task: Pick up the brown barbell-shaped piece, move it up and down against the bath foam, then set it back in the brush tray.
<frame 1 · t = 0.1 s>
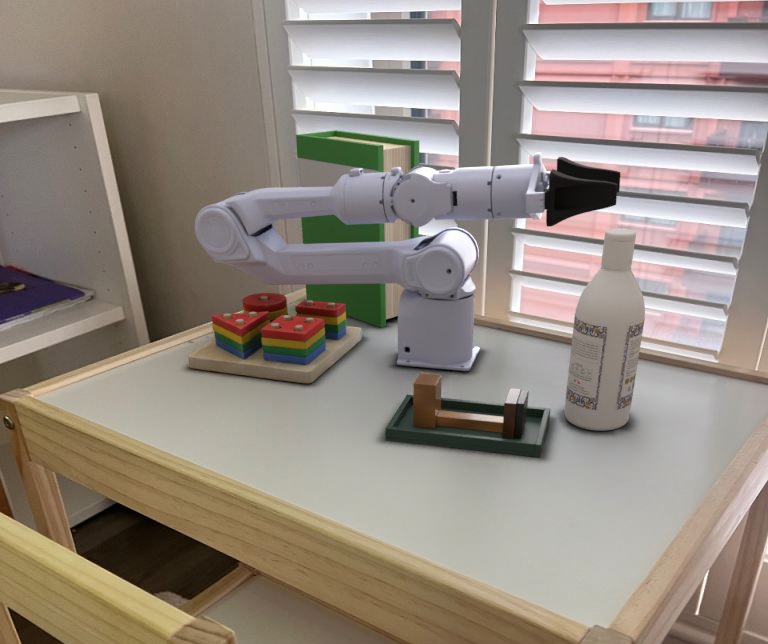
hand: (618, 187, 88), 22 cm above the table, tool horizontal, fingers open, 7 cm apart
bath foam: (595, 420, 88), on the table
shape sorter: (278, 354, 107), on the table
hardback book: (360, 309, 123), on the table
brush tray: (469, 429, 87), on the table
brown barbell-shaped piece: (427, 421, 87), resting on brush tray
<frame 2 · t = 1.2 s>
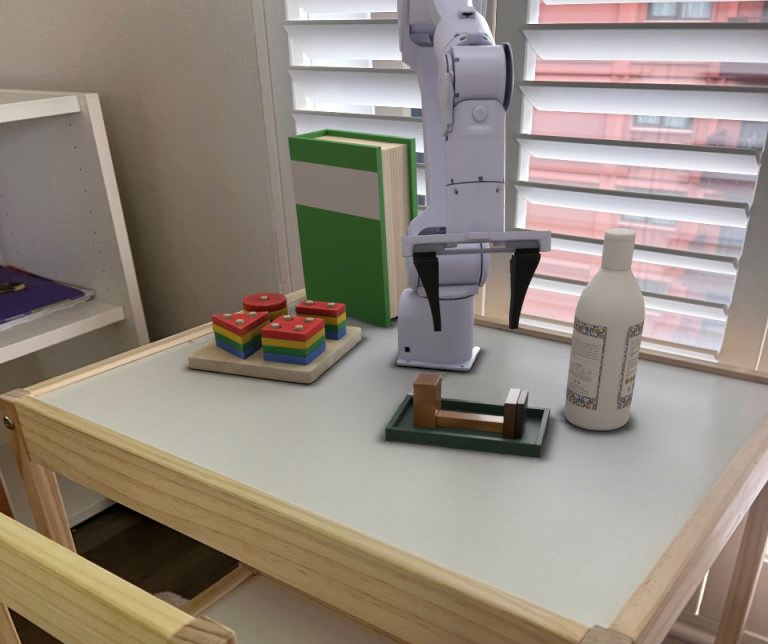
hand: (475, 329, 81), 11 cm above the table, tool tilted 15°, fingers open, 7 cm apart
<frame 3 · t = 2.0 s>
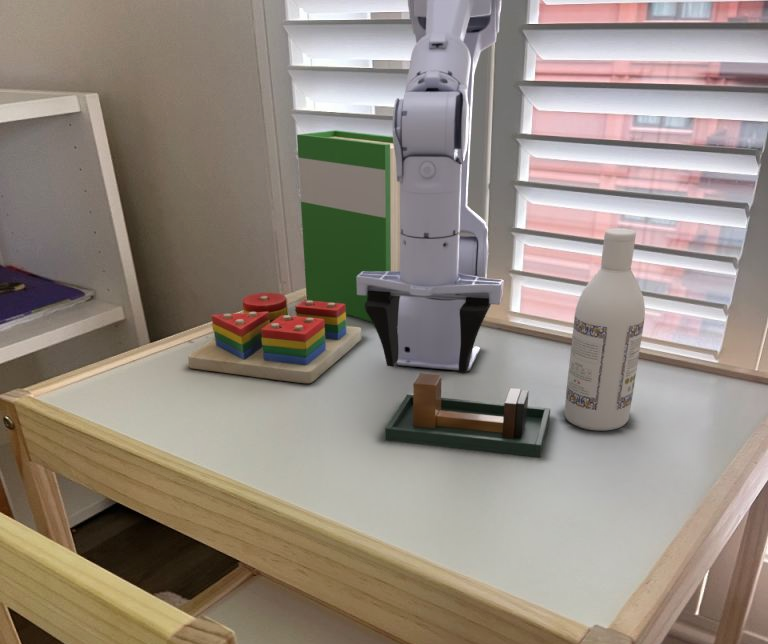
hand: (427, 366, 84), 7 cm above the table, tool pointing down, fingers open, 7 cm apart
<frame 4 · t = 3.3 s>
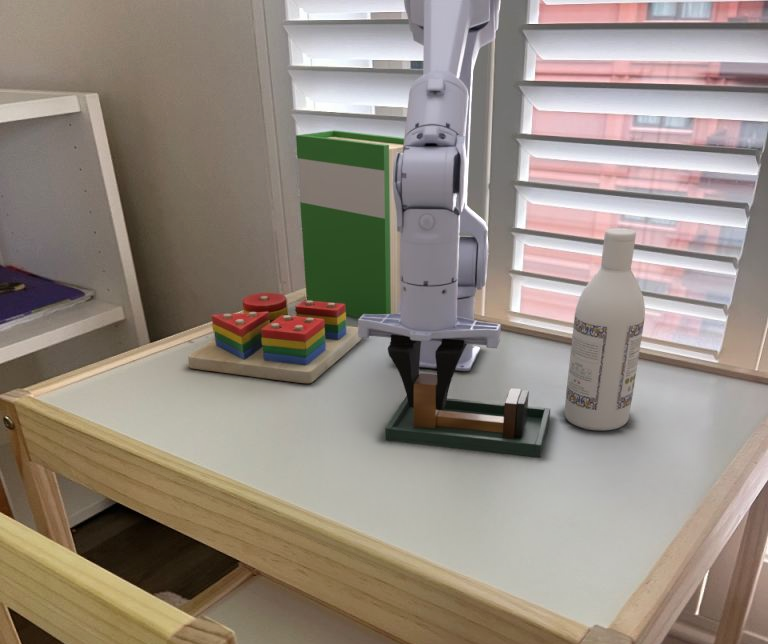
hand: (427, 405, 86), 2 cm above the table, tool pointing down, fingers closed on brown barbell-shaped piece, 2 cm apart
brown barbell-shaped piece: (427, 422, 87), resting on brush tray, touching gripper
everything else where it was.
when the fingers open (2 cm above the table, at t = 11.8 s): brown barbell-shaped piece stays where it is, resting on brush tray.
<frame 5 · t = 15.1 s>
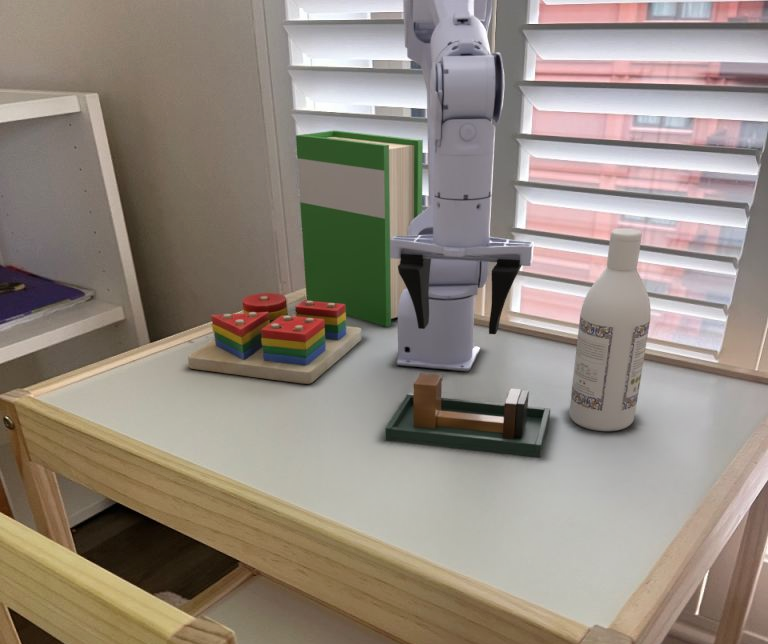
hand: (458, 328, 86), 9 cm above the table, tool pointing down, fingers open, 7 cm apart
brown barbell-shaped piece: (427, 422, 87), resting on brush tray
everything else where it was.
at the end: brown barbell-shaped piece 0.1 cm from the target spot in the brush tray, point 0.4 cm above the brush tray's base; bath foam tilted 0°; bath foam moved 0.6 cm from its start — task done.
